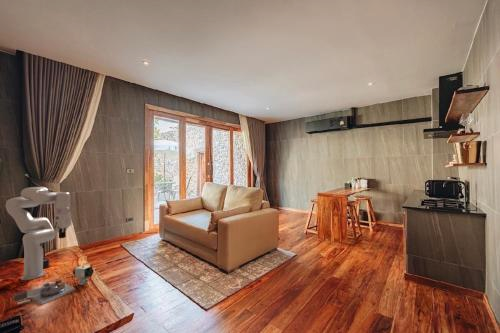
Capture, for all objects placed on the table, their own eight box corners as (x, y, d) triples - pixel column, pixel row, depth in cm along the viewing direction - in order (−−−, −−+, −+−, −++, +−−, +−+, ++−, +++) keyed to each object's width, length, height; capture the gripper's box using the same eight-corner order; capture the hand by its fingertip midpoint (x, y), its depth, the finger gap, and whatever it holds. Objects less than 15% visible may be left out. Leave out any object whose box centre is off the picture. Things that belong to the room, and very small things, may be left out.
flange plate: (14, 303, 121) (14, 300, 121) (62, 284, 140) (62, 282, 141) (26, 310, 114) (26, 308, 114) (75, 290, 133) (75, 287, 133)
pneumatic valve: (87, 286, 138) (87, 267, 138) (72, 284, 140) (72, 266, 141) (94, 282, 143) (95, 264, 144) (80, 280, 146) (80, 262, 146)
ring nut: (13, 306, 114) (13, 298, 114) (13, 298, 122) (13, 291, 122) (66, 290, 130) (66, 283, 130) (63, 284, 138) (63, 277, 138)
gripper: (60, 212, 139) (59, 241, 139) (76, 208, 154) (75, 234, 154) (47, 212, 138) (47, 241, 138) (64, 209, 153) (64, 234, 153)
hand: (62, 237), depth 146 cm, fingers closed
